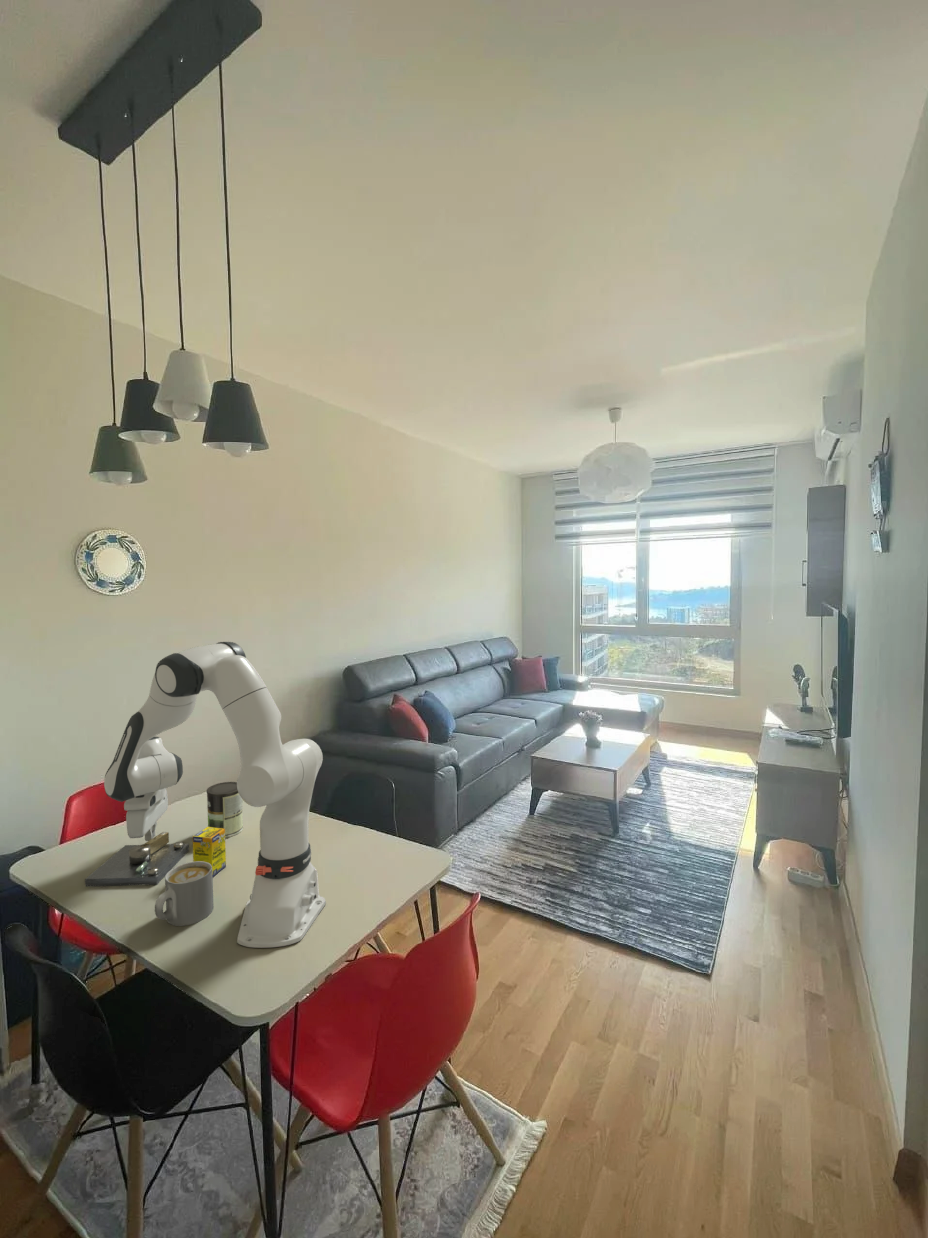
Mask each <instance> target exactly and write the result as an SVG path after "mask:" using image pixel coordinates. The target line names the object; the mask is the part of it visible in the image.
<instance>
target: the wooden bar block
mask: <svg viewBox="0 0 928 1238" xmlns="http://www.w3.org/2000/svg"><path fill="white" fill-rule="evenodd" d="M169 836H170V833H169V832H167V831H162V832H161V833H159V834H157V835H155V836H154V838H153V839H151V840H149V841H145V843H142V844H136V845H137V846H134V847H132V848H131V849H130V850H129V861H130V863H131V864H139V863H143V862H145V861H147V860H149V859H150V858H151V854H152V853H154V852H155V851H157V850H158V849H160V848H161V847H163V846H164V845H166V844H170V837H169Z"/></svg>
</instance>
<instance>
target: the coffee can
mask: <svg viewBox="0 0 928 1238" xmlns="http://www.w3.org/2000/svg"><path fill="white" fill-rule="evenodd" d="M206 797H207V798H206V801H207V802H206V805H207V808H206V809H207V827H213V828H222V829H225V839H227V838H232V837H234V836H237V835H239V834H241V833H242V832H243V830H244V825H243V824H244V822H243V821H244V820H243V818H244V815H243V814H244V813H243V799H242V798H241V797H240V795H239V793H238V789H237V781H224V782H219V783H215V784H213V785H210V786H209V787H207V788H206Z"/></svg>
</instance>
